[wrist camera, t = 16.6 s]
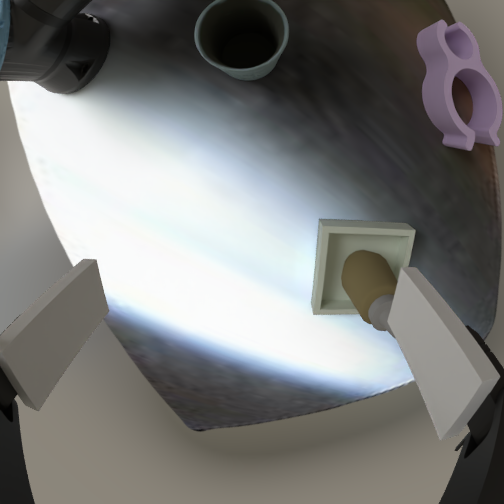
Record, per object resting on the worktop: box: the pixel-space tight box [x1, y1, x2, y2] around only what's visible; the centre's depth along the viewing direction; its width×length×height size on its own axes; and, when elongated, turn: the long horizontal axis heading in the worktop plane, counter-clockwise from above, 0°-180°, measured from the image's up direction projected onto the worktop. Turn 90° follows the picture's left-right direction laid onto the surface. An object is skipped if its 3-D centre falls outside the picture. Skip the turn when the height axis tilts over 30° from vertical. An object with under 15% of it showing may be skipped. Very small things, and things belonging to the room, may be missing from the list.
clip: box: [417, 20, 502, 151], centre depth 30 cm, size 20×12×7 cm, turn 17°
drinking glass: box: [194, 0, 289, 81], centre depth 29 cm, size 10×10×12 cm
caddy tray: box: [311, 219, 416, 315], centre depth 45 cm, size 15×15×4 cm
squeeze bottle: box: [341, 250, 398, 339], centre depth 38 cm, size 8×8×18 cm
